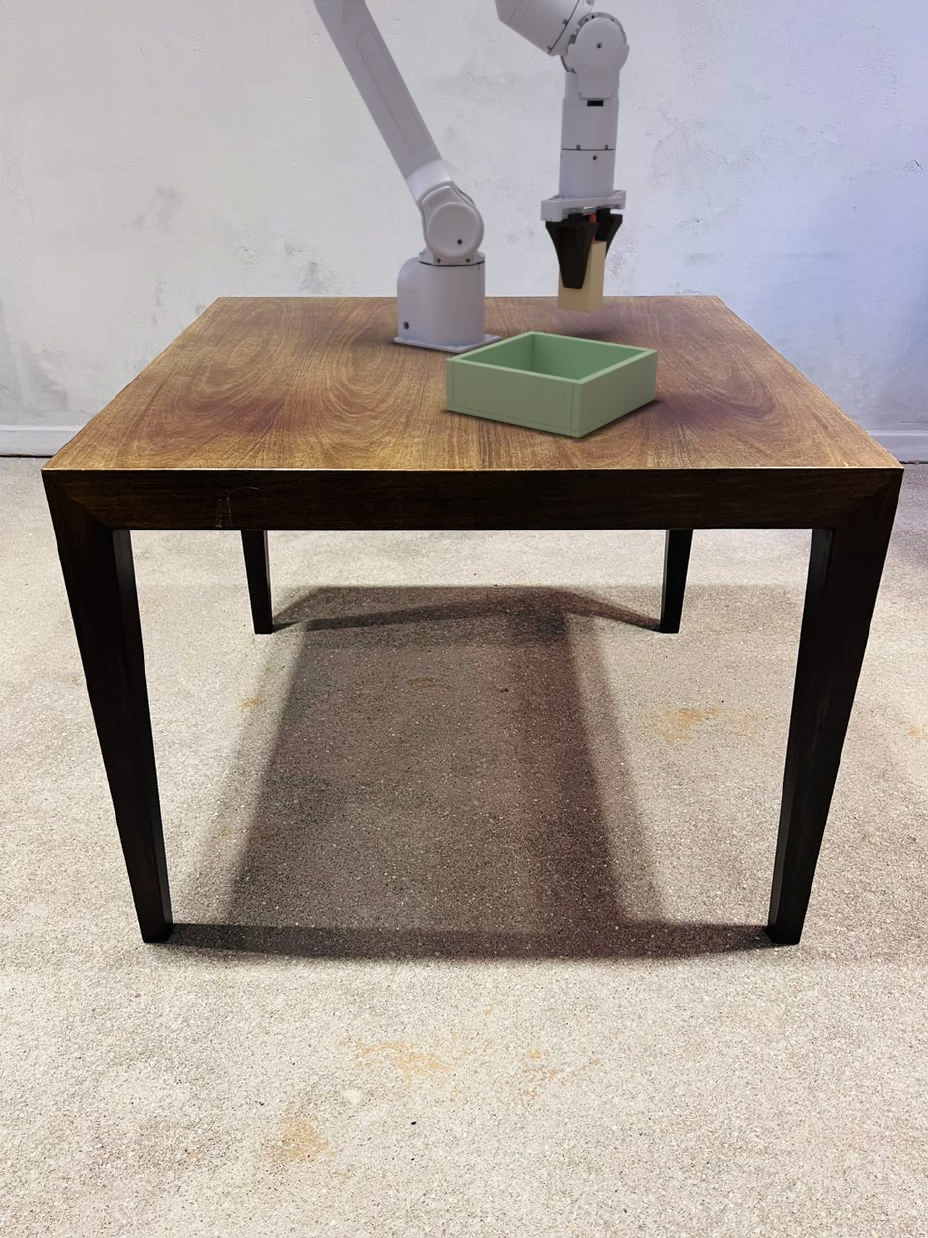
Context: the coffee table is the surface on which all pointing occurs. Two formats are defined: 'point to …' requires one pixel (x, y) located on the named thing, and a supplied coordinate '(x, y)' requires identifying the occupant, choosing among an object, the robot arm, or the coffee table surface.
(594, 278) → the juice box
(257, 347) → the coffee table surface
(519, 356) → the bin
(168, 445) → the coffee table surface
